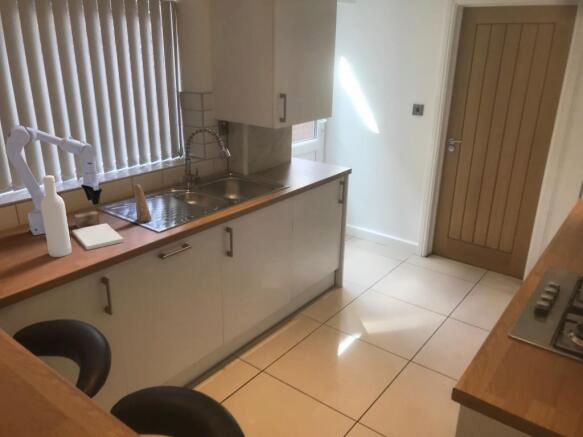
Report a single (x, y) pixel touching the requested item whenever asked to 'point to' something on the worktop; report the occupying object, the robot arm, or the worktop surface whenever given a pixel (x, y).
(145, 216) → the tan tapered horn
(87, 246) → the cutting board
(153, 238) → the worktop surface
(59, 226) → the bottle
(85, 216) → the walnut block
